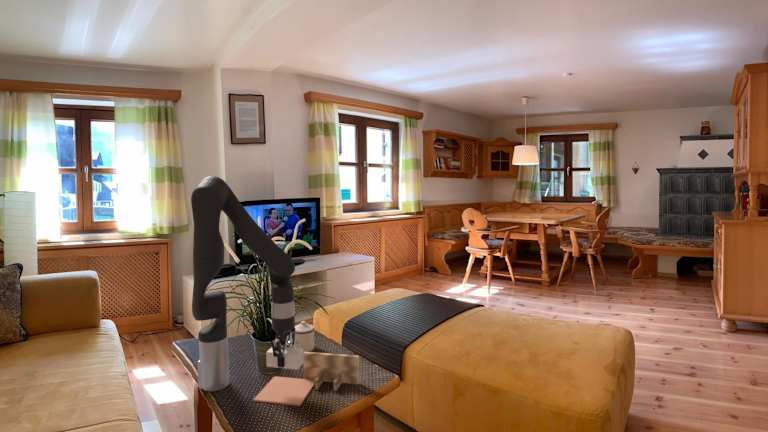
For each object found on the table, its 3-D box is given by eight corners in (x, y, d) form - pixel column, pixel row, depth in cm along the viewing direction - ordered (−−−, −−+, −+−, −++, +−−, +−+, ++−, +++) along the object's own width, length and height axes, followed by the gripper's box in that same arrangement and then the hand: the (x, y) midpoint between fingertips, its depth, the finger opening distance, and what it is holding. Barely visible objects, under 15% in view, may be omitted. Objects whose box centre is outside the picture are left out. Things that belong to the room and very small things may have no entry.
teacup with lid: (314, 343, 188) (314, 317, 187) (315, 352, 180) (314, 324, 178) (286, 345, 186) (285, 319, 185) (285, 354, 177) (284, 327, 176)
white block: (297, 369, 143) (297, 354, 143) (266, 366, 146) (266, 352, 145) (303, 362, 148) (303, 348, 148) (273, 360, 150) (272, 346, 150)
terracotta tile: (253, 401, 142) (253, 399, 142) (274, 377, 158) (274, 376, 158) (300, 405, 139) (300, 404, 139) (316, 381, 155) (316, 380, 155)
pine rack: (297, 388, 151) (296, 360, 149) (305, 378, 158) (304, 351, 157) (354, 393, 147) (353, 364, 146) (359, 382, 154) (358, 355, 153)
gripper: (284, 322, 137) (286, 374, 139) (302, 307, 151) (303, 355, 153) (262, 320, 139) (264, 372, 141) (281, 306, 153) (283, 353, 155)
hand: (284, 363), depth 147 cm, fingers closed on white block, 5 cm apart
